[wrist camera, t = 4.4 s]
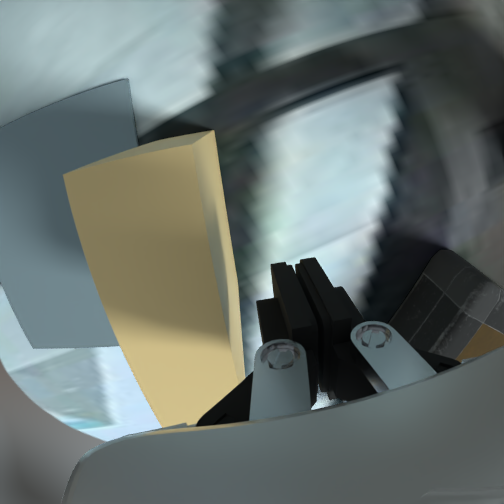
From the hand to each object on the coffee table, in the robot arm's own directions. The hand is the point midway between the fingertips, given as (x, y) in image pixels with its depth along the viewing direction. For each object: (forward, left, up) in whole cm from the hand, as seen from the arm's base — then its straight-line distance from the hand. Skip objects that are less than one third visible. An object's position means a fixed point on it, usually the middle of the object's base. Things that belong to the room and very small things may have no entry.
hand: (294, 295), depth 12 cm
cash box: (-21, +20, -13) cm, 32 cm away
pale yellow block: (+5, 0, -12) cm, 13 cm away
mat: (+17, 0, -12) cm, 21 cm away
